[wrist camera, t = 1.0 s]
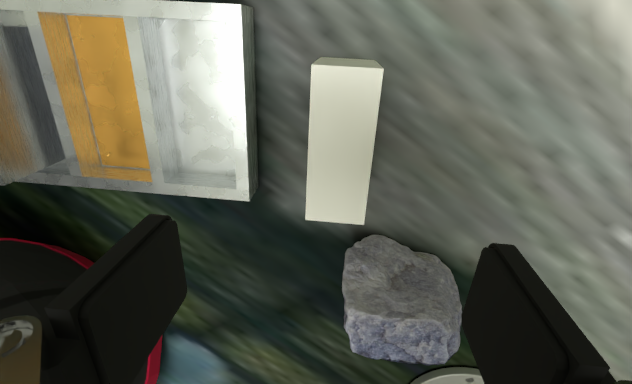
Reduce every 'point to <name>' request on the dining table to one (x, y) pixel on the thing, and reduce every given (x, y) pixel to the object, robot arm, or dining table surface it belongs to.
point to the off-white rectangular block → (341, 138)
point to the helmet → (48, 286)
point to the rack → (129, 96)
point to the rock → (399, 303)
